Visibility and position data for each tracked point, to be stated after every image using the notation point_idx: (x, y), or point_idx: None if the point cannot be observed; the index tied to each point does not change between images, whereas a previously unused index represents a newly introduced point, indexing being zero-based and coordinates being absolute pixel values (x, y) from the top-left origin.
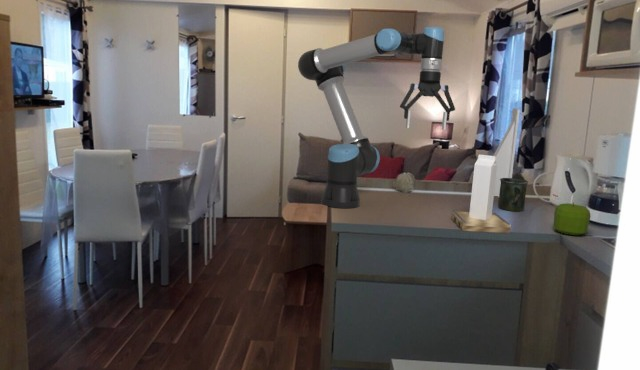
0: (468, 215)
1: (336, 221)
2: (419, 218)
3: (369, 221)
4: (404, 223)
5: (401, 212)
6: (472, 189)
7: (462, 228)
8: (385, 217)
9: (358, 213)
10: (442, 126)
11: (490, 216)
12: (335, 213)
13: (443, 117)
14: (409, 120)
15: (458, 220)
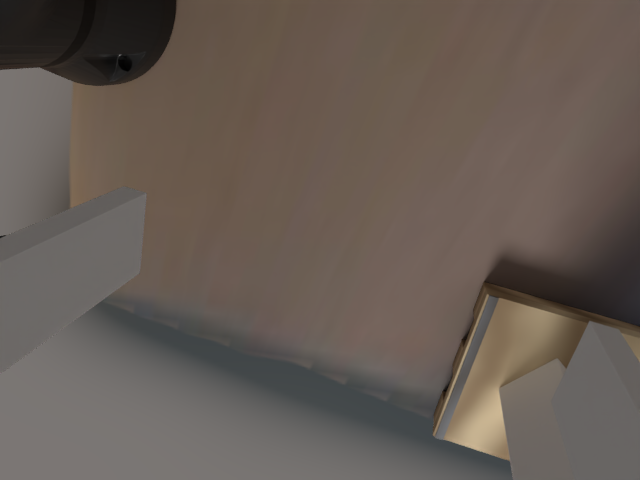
0: (518, 362)
1: None
2: (357, 255)
3: (166, 274)
4: (274, 310)
5: (321, 157)
6: (513, 471)
7: (434, 418)
8: (232, 230)
9: (148, 165)
10: (590, 363)
11: None
12: (71, 161)
13: (632, 470)
14: (79, 313)
15: (451, 380)
